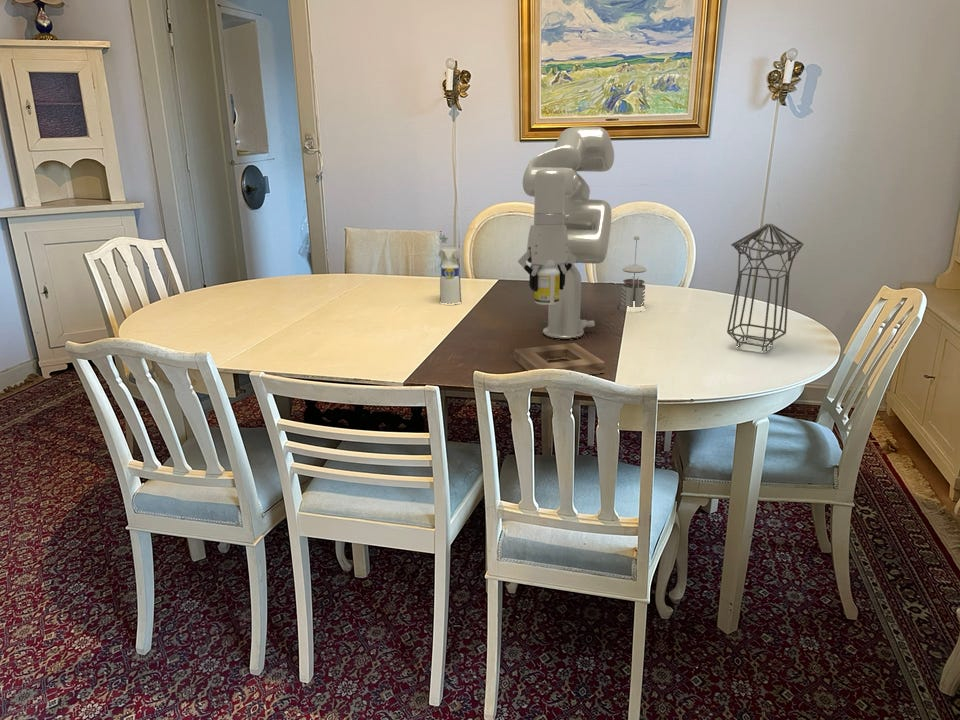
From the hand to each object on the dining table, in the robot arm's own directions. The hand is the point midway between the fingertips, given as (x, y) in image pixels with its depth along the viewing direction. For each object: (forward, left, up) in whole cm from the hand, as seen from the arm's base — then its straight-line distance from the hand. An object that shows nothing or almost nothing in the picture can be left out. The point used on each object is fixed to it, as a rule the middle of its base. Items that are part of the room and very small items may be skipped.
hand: (547, 288), depth 187 cm
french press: (-51, -42, -20) cm, 69 cm away
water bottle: (+5, -72, -20) cm, 75 cm away
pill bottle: (0, 0, -4) cm, 4 cm away
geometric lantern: (-61, +9, -20) cm, 64 cm away
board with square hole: (-2, +5, -20) cm, 21 cm away
